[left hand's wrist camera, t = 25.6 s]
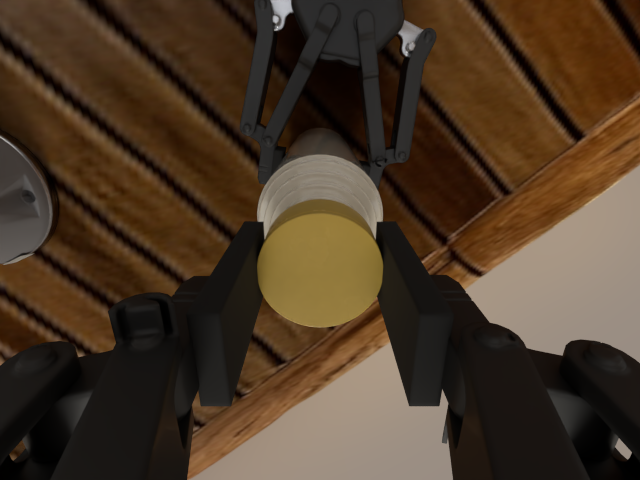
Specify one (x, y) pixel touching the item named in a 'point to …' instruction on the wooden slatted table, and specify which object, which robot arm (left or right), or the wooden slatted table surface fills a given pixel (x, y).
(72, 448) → the left robot arm
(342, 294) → the cap
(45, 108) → the wooden slatted table surface
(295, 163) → the bottle
